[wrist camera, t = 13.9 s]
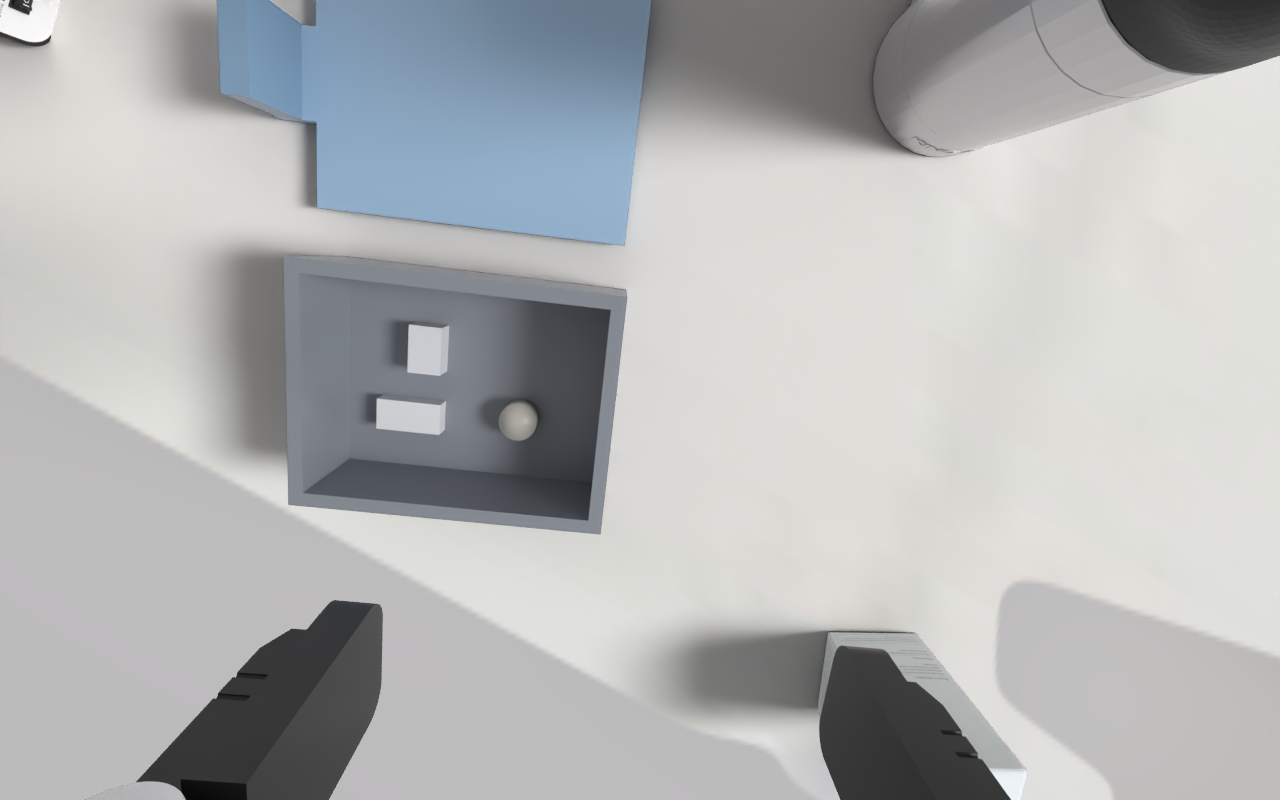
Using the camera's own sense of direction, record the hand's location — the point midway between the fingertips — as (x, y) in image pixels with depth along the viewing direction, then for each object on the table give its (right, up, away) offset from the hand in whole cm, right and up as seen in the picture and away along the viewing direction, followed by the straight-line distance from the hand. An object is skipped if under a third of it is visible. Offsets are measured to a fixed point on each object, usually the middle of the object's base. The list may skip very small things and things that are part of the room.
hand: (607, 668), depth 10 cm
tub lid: (-10, +23, +26) cm, 36 cm away
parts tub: (-10, +6, +29) cm, 31 cm away
